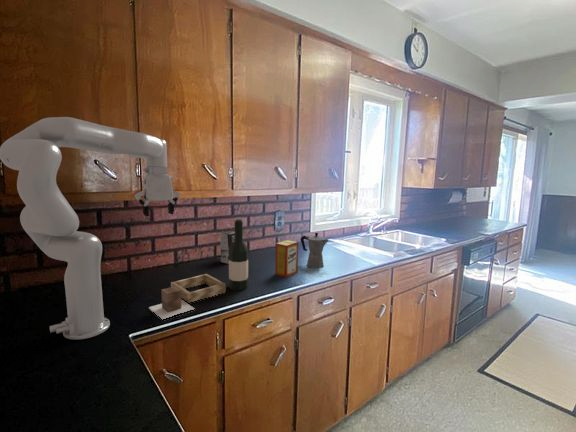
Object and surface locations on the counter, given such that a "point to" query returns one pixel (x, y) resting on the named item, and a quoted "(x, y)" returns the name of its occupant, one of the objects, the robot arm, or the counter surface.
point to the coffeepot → (314, 250)
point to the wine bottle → (238, 260)
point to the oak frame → (215, 289)
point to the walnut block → (171, 299)
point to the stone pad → (164, 314)
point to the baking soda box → (286, 258)
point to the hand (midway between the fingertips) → (159, 214)
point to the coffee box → (226, 245)
